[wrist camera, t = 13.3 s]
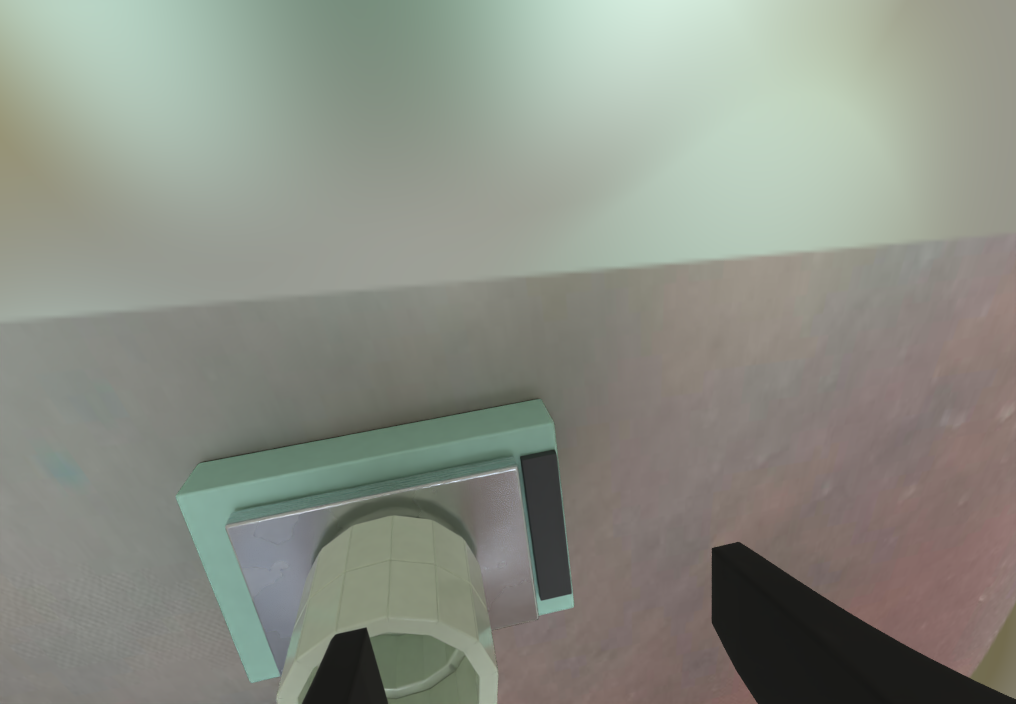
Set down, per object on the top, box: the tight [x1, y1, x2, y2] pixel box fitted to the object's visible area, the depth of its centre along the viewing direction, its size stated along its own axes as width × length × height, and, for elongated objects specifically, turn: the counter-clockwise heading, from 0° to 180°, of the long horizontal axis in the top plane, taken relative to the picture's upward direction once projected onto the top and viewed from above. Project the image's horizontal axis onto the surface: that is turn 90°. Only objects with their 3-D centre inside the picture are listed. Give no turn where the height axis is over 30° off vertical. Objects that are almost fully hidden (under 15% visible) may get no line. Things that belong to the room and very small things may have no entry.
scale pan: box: [225, 456, 539, 677], centre depth 18 cm, size 9×6×1 cm
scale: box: [176, 399, 574, 683], centre depth 20 cm, size 12×8×2 cm, turn 97°
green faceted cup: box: [276, 515, 498, 704], centre depth 16 cm, size 5×6×4 cm
